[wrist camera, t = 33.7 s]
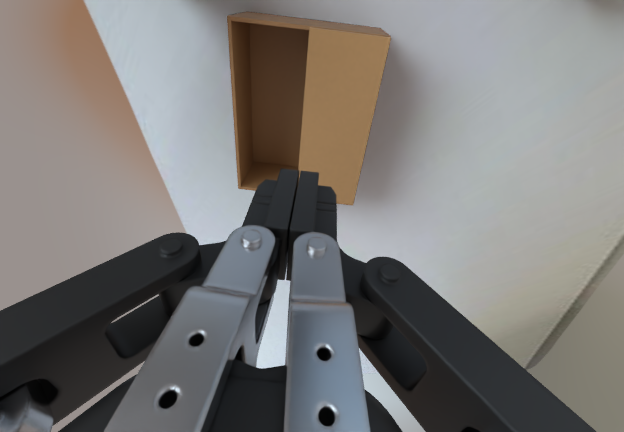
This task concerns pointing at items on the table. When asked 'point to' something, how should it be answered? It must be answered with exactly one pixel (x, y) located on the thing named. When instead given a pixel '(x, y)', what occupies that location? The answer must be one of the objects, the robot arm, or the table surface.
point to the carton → (271, 89)
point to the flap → (340, 106)
